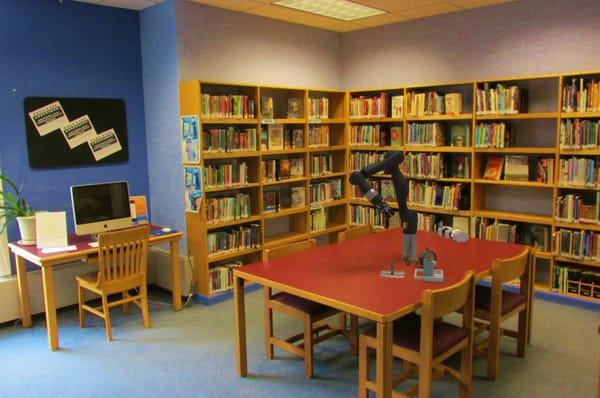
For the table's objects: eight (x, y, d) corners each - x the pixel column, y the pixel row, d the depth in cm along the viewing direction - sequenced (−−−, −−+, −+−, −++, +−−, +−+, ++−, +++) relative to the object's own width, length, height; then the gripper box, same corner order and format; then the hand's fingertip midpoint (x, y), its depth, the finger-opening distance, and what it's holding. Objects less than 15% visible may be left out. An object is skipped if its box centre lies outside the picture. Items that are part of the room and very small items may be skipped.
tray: (415, 273, 301) (415, 268, 300) (442, 274, 296) (442, 269, 296) (414, 281, 285) (414, 276, 285) (443, 283, 281) (443, 277, 281)
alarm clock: (423, 271, 305) (423, 245, 303) (417, 269, 310) (417, 243, 308) (437, 268, 310) (437, 243, 307) (431, 266, 315) (431, 241, 312)
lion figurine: (399, 267, 315) (399, 253, 314) (403, 265, 319) (403, 251, 318) (421, 270, 306) (421, 256, 305) (424, 268, 310) (424, 254, 309)
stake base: (381, 272, 305) (381, 257, 303) (405, 273, 301) (405, 258, 300) (379, 279, 291) (379, 263, 290) (403, 280, 288) (403, 264, 286)
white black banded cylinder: (437, 236, 398) (437, 220, 397) (448, 235, 402) (448, 219, 400) (456, 242, 375) (456, 225, 373) (468, 241, 378) (468, 224, 376)
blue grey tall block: (425, 275, 294) (425, 258, 293) (436, 276, 291) (436, 259, 290) (423, 277, 290) (423, 261, 288) (434, 278, 287) (434, 262, 285)
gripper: (374, 194, 297) (393, 214, 294) (381, 191, 310) (399, 210, 307) (366, 203, 300) (385, 222, 297) (373, 199, 313) (391, 218, 310)
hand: (392, 216), depth 302 cm, fingers open, 8 cm apart
